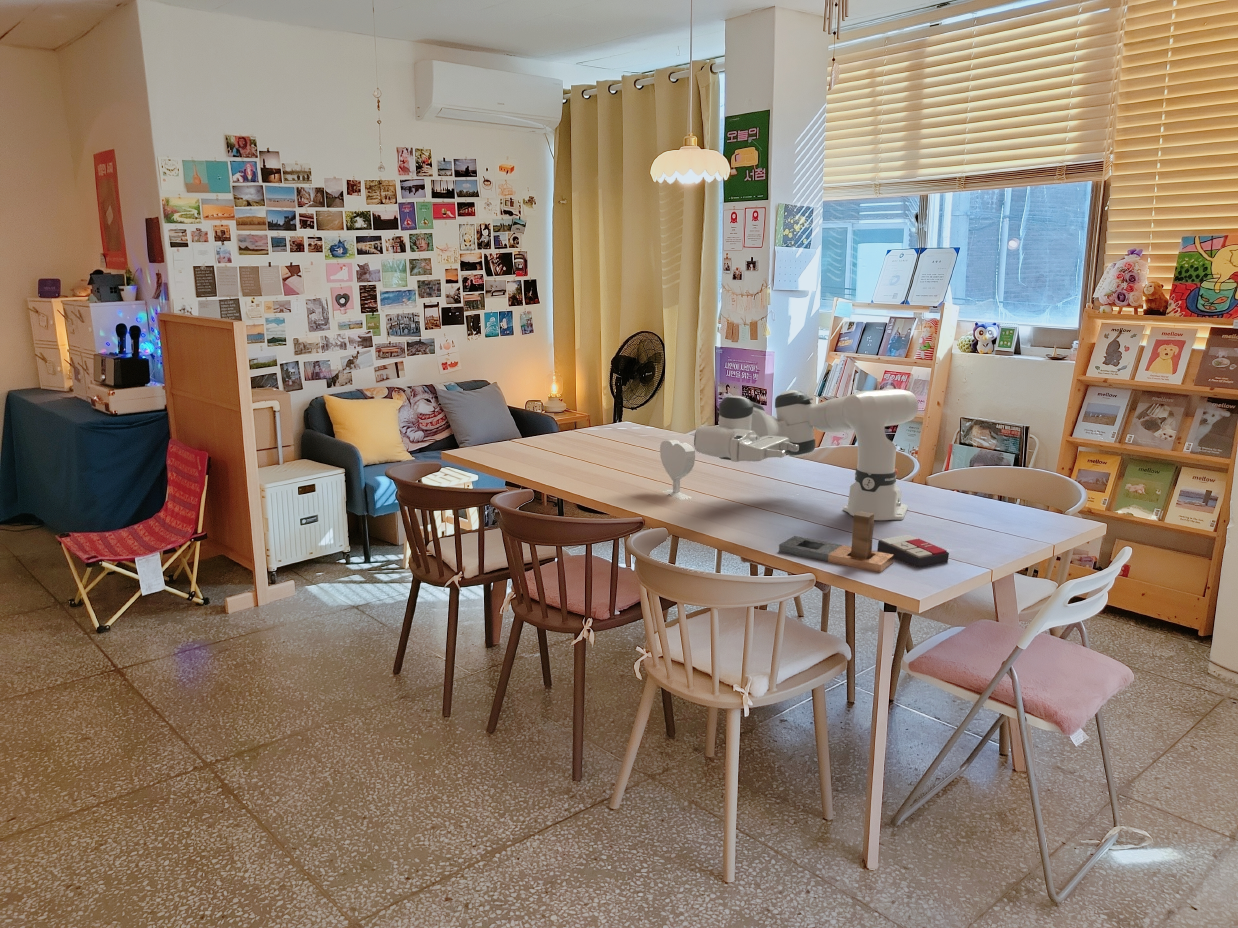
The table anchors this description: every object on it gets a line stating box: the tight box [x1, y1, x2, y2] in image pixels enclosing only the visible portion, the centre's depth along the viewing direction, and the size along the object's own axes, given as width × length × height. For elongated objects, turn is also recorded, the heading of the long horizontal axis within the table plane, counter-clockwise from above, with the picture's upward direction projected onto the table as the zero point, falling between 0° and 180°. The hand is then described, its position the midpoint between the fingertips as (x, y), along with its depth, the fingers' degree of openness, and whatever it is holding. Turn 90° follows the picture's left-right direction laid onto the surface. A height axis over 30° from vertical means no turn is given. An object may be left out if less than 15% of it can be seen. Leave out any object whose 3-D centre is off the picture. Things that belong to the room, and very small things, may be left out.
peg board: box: [778, 535, 894, 573], centre depth 241 cm, size 10×28×2 cm, turn 55°
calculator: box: [876, 534, 950, 569], centre depth 241 cm, size 11×4×15 cm
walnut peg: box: [851, 511, 875, 560], centre depth 236 cm, size 4×4×13 cm
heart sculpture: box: [659, 439, 696, 500], centre depth 302 cm, size 16×5×18 cm, turn 31°
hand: (790, 451), depth 249 cm, fingers open, 8 cm apart
